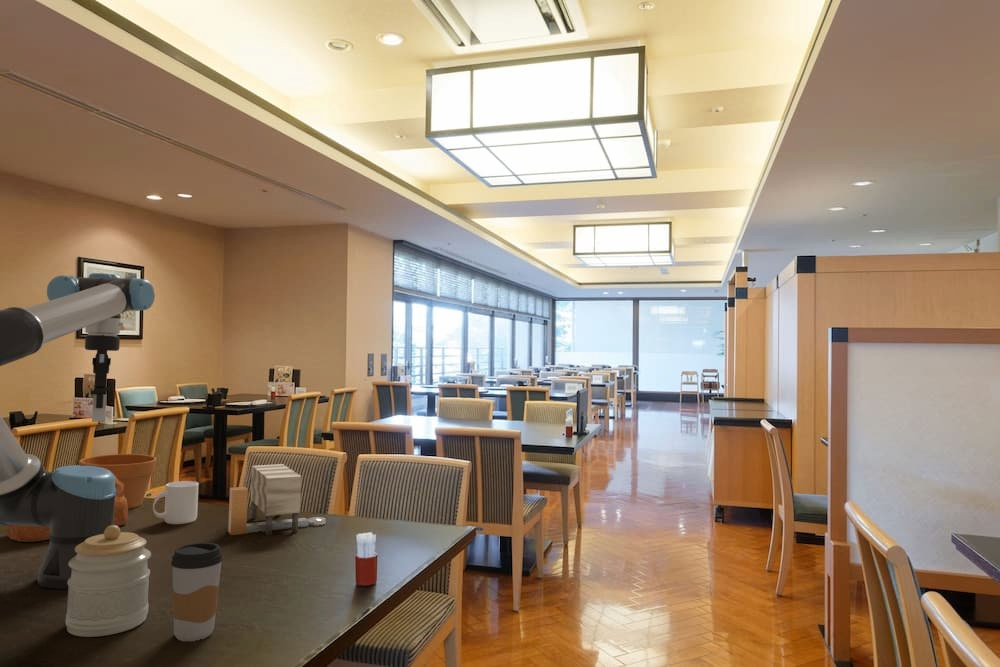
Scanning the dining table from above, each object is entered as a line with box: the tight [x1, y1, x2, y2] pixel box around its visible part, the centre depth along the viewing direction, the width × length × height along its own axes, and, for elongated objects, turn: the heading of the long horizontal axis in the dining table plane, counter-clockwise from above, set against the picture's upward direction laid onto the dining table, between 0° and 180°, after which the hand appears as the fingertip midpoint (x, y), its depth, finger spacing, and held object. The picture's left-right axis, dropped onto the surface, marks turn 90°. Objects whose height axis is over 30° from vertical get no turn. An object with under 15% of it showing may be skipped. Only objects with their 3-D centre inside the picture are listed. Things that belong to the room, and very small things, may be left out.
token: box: [307, 516, 327, 526], centre depth 192 cm, size 5×5×2 cm
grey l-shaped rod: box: [227, 486, 309, 536], centre depth 185 cm, size 4×21×12 cm, turn 121°
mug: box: [152, 480, 199, 525], centre depth 190 cm, size 9×12×11 cm
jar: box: [65, 525, 152, 638], centre depth 120 cm, size 13×13×18 cm
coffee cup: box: [170, 542, 224, 642], centre depth 116 cm, size 8×8×15 cm
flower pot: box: [78, 453, 157, 510], centre depth 207 cm, size 21×21×15 cm
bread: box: [7, 474, 129, 543], centre depth 178 cm, size 14×26×16 cm, turn 145°
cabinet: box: [250, 463, 302, 537], centre depth 190 cm, size 22×9×16 cm, turn 31°
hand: (98, 419), depth 166 cm, fingers open, 13 cm apart
